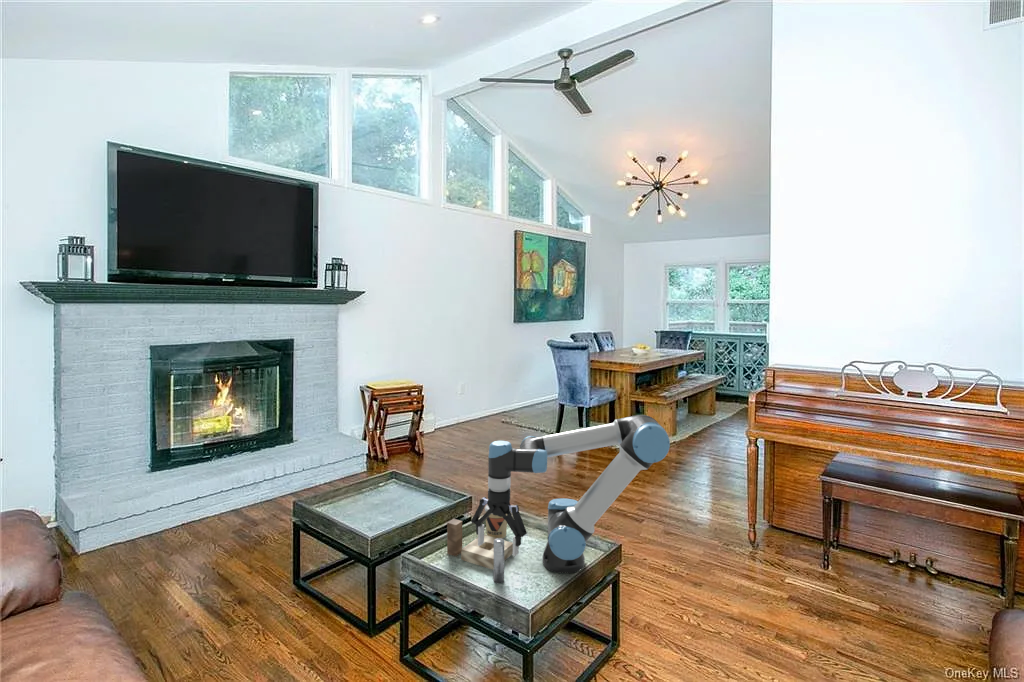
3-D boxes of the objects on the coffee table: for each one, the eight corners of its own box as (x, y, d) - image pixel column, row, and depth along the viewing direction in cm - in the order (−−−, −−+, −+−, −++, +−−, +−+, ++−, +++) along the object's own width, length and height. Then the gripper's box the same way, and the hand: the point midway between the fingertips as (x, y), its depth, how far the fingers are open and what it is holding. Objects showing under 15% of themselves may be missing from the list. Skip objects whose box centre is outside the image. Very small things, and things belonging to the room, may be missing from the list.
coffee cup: (482, 540, 207) (482, 510, 206) (487, 529, 216) (487, 501, 215) (505, 542, 205) (506, 512, 204) (509, 531, 214) (510, 503, 213)
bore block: (513, 553, 196) (513, 542, 196) (493, 570, 184) (494, 559, 184) (482, 544, 203) (482, 534, 203) (461, 559, 191) (461, 549, 191)
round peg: (506, 579, 178) (506, 539, 177) (500, 584, 175) (500, 544, 174) (496, 576, 180) (497, 537, 179) (491, 581, 177) (491, 541, 176)
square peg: (462, 552, 197) (462, 521, 196) (456, 556, 193) (456, 525, 192) (453, 549, 199) (453, 518, 198) (447, 553, 195) (447, 522, 194)
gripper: (537, 492, 172) (536, 554, 174) (474, 477, 184) (473, 535, 186) (527, 499, 165) (525, 564, 167) (461, 483, 177) (460, 544, 179)
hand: (497, 549), depth 176 cm, fingers open, 13 cm apart
